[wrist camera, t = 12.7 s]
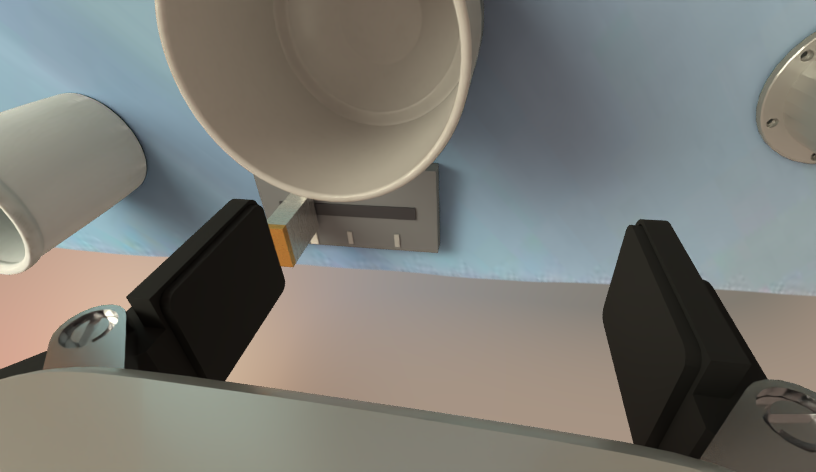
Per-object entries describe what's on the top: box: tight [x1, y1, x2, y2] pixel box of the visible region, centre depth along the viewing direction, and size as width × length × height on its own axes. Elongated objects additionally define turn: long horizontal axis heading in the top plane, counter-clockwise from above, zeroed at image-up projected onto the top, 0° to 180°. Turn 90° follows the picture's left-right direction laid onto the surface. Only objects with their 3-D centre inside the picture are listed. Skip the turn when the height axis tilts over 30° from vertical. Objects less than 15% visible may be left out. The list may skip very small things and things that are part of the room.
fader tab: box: [267, 193, 319, 267], centre depth 47 cm, size 2×5×8 cm, turn 3°
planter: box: [155, 0, 484, 202], centre depth 31 cm, size 19×19×18 cm
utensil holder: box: [0, 93, 147, 275], centre depth 47 cm, size 15×15×18 cm
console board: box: [253, 163, 440, 253], centre depth 50 cm, size 22×11×2 cm, turn 93°
